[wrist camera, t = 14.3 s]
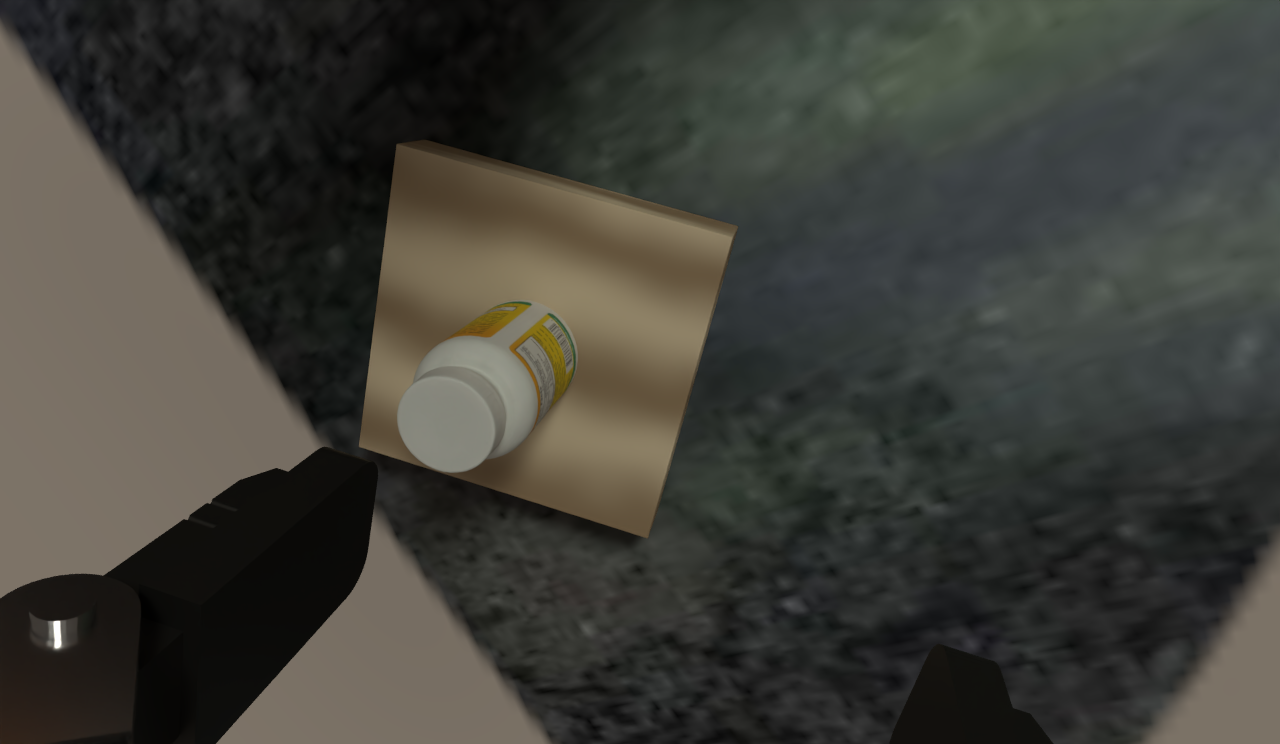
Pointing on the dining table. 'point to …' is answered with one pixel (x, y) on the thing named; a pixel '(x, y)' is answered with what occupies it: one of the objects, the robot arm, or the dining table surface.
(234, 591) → the robot arm
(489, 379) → the supplement bottle
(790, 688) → the dining table surface
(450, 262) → the birch plinth
